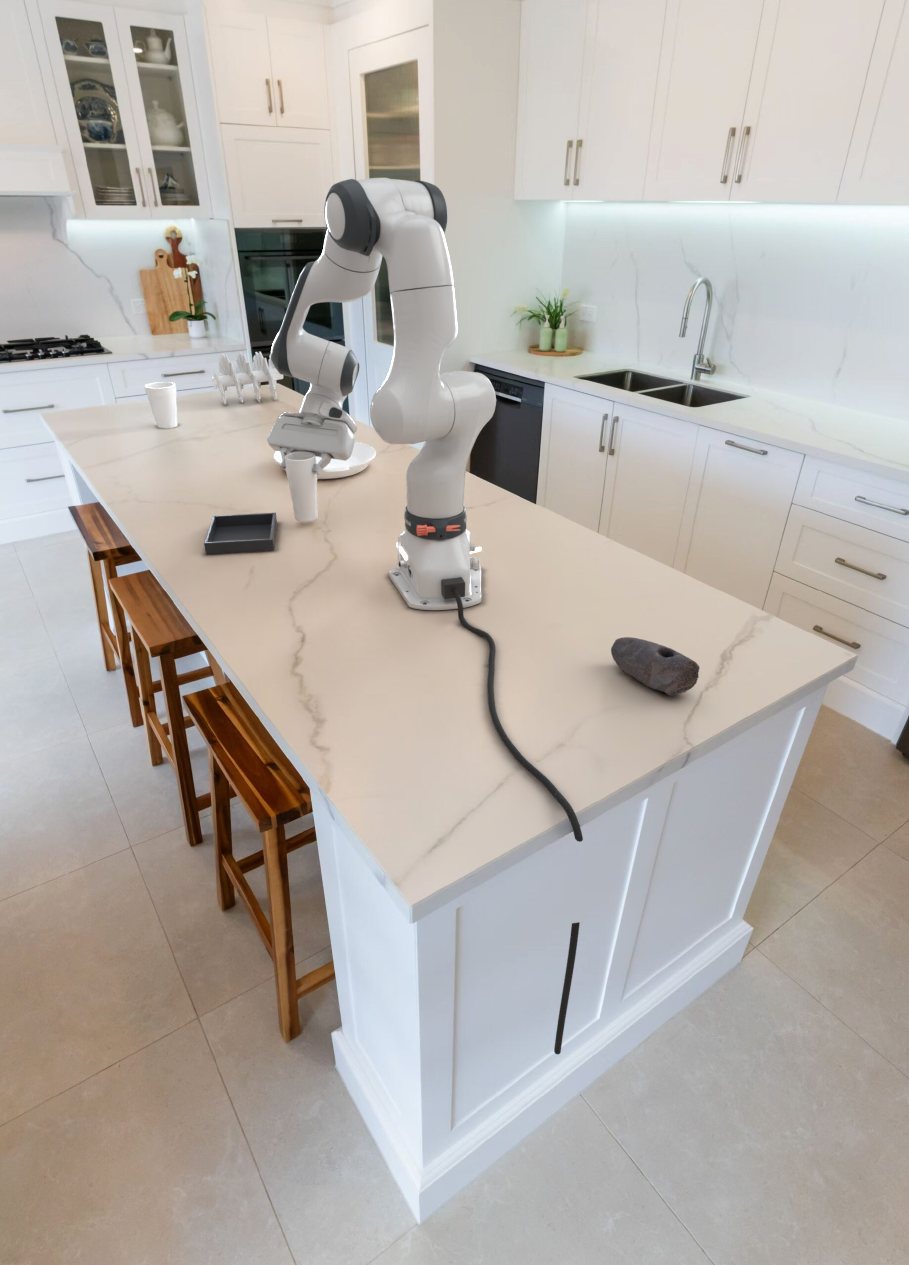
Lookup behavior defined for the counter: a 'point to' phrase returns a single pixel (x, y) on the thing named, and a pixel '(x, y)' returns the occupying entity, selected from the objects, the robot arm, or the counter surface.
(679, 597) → the counter surface
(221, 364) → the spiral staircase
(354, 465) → the pan
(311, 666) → the counter surface
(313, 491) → the white tall cup
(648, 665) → the perforated stone tool
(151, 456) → the counter surface
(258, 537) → the baking tray
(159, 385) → the foam cup
